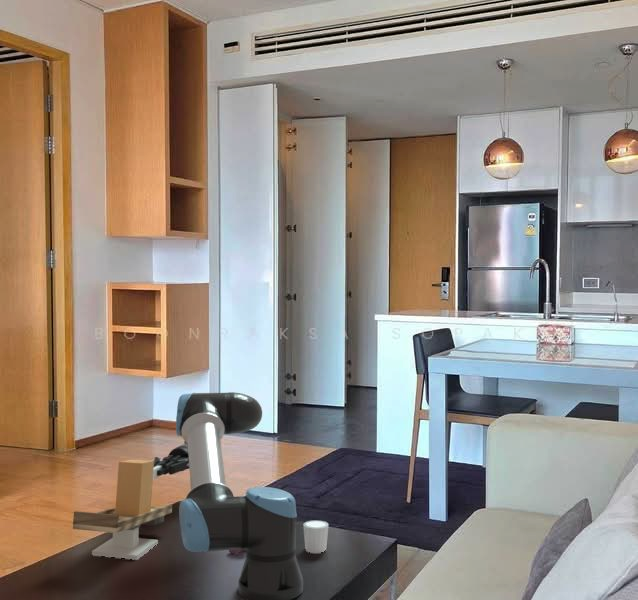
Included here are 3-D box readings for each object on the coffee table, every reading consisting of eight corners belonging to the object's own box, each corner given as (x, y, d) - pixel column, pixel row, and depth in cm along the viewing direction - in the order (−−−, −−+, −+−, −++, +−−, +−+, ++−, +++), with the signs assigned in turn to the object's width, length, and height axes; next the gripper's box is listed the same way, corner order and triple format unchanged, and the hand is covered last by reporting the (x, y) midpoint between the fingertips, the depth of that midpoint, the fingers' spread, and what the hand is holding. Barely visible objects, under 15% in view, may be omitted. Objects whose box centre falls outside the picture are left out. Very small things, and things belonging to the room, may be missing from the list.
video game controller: (241, 561, 191) (252, 538, 190) (226, 552, 192) (237, 529, 191) (251, 548, 201) (262, 526, 200) (237, 539, 202) (248, 518, 201)
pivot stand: (137, 560, 187) (137, 537, 187) (91, 555, 190) (91, 532, 190) (157, 544, 199) (157, 522, 199) (115, 540, 202) (115, 518, 202)
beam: (115, 543, 177) (117, 515, 178) (71, 539, 180) (73, 511, 181) (171, 521, 208) (172, 497, 209) (133, 518, 211) (134, 494, 212)
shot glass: (332, 552, 194) (332, 526, 194) (307, 555, 191) (308, 529, 191) (323, 543, 200) (323, 518, 200) (299, 546, 198) (299, 521, 198)
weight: (138, 516, 194) (142, 463, 196) (115, 514, 196) (118, 461, 198) (150, 512, 201) (153, 461, 203) (127, 510, 203) (131, 459, 204)
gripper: (202, 470, 230) (170, 490, 207) (164, 467, 233) (128, 487, 210) (202, 446, 230) (170, 464, 207) (164, 444, 233) (128, 461, 210)
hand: (149, 475), depth 208 cm, fingers closed
